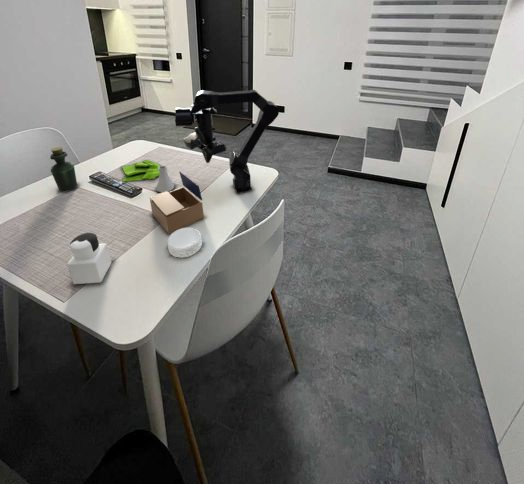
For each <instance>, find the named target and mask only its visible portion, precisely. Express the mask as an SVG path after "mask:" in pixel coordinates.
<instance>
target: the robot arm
mask: <svg viewBox="0 0 524 484" xmlns="http://www.w3.org/2000/svg"><path fill="white" fill-rule="evenodd" d="M240 103H253V104H254V106H256V107H257V108H258V109H259V112H258V116H257V119H256V121H255V124H254V125H253V127H252V128H251V130H250V132H249V134H248V135H247V137H246V139H245V140H244V142H243V144H242V146H241V147H240V149H239V150H238V151H233V152H232V154H231V156H230V157H229V158H228V161H229V163H228V164H229V171H230V173H231V174H232V175H233V178H232V187H233V189H234V190H235V192H236V193H237V194H240V193H245V192H251V191H252V190H253V188H252V187H251V174H250V173H251V172H250V169H249V166H248V161H249V158H250V156H251V154H252V152H253V151H254V149H255V147H256V146H257V144H258V142H259V141H260V139H261V137H262V136H263V134H264V133H265V130H266V129H267V128H268V127H269V126H270V125H271V124H272V123H274V121H275V120H276V119H277V118H278V116H279V115H280V111H279V107H278V106H277V105H276V104H275V103H274V102H273V101H272V100H267V99H266V98H265V97H263V96H262V95H261V94H260V93H259V92H258V91H257V90H256V89H250V90H236V91H226V92H225V91H224V92H217V91H213V90H203V89H202V90H199V91H197V93H196V94H195V96H194V102H193V103H192V104H191V107H175V110H174V111H175V113H174V114H175V115H174V116H175V119H174V123H175V127H176V128H180V127H193V125H194V124H196V127H194V132H193V133H190V134H189V135H187V136H186V137H184V138H183V139H182V141H183V143H184V145H185V147H186V148H188V149H189V150H194V149H195V148H197V149H199V151H201V153H202V156H203V158H204V160H205V163H206V164H209V163H210V162H211V160H212V157H213V156H214V155H217V154H220V153H224V152H227V146H226V145H225V144H224V143H222V142H221V141H216V140H217V138H216V137H215V136H214V131H216V127H215V126H214V125H213V124H214V123H213V115H217V114H218V111H217V109H215V108H216V107H217V106H220V105H228V104H229V105H231V104H240Z"/></svg>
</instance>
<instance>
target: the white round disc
mask: <svg viewBox="0 0 524 484" xmlns="http://www.w3.org/2000/svg"><path fill="white" fill-rule="evenodd" d="M202 244H203V240H202V233H201V232H200V231H199V230H198V229H197V228H194V227H183V228H181V229H179V230H176V231H174V232H172V233H170V234H169V236H168V238H167V248H168V252H169V254H170V255H172V256H173V257H175V258H182V259H183V258H188V257H191V256H193V255H195V254H196V253H198V251H199V250H200V249H201V247H202Z"/></svg>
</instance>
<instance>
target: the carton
mask: <svg viewBox="0 0 524 484" xmlns="http://www.w3.org/2000/svg"><path fill="white" fill-rule="evenodd" d="M149 203H150V209H151V215H152V216H153V217H154V218H155V219H156V220H157V222H158V223H159V224H160V226H162V228H163V229H164V231H166V232H167V234H168V235H171V234H172V233H173V232H175V231H176V230H179V229H181V228H186V227H187V226H189V225H191V224H193V223H196V222H198V221H200V220H202V219H204V217H205V215H204V205H203V202H202V201H201V200H200V199H199V198H198V197H196V196H195V195H194V194H193V193H192V192H191V191H189V190H188V189H187V188H186V187H185V186H182V187H181V186H180V187H179V188H175V189H172V190H171V191H169V192H168V191H165V192H159V193H157V194H154V195H152V196H150V197H149Z"/></svg>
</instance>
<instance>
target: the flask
mask: <svg viewBox="0 0 524 484" xmlns="http://www.w3.org/2000/svg"><path fill="white" fill-rule="evenodd" d="M159 166H160V167H158V169H159V172H160V174H159V176H158V181H157V186H156V189H155V191H156V192H159V193H163V192H165V191H168V192H171V191H173V190H175V189H174V188H175V183H174V182H173V180H172V179H171V177H170V175H169V173H168V171H167V168H168V166H167V165H159Z"/></svg>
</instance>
